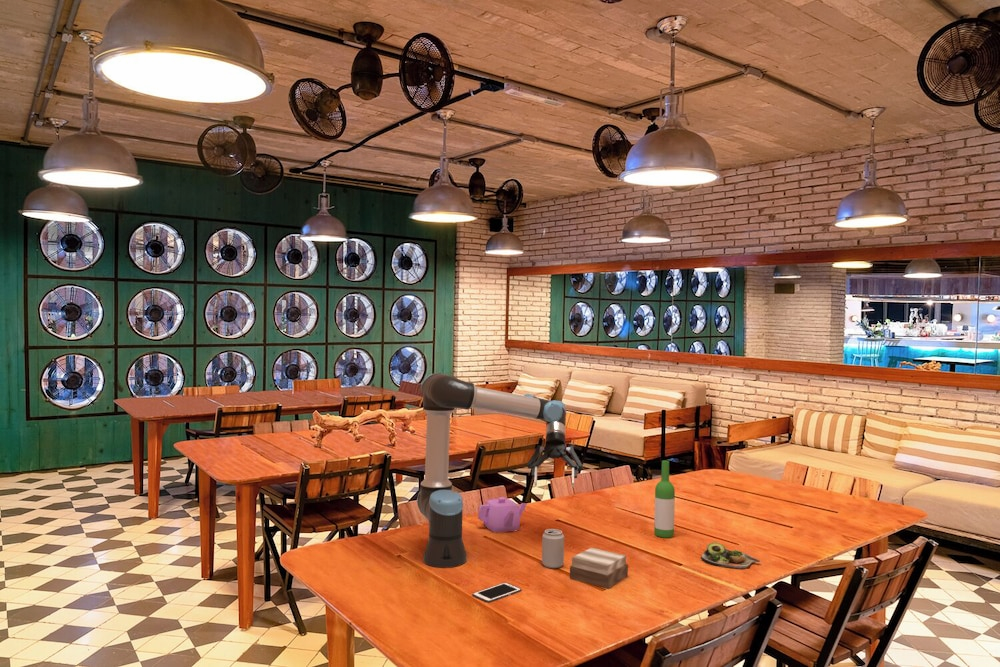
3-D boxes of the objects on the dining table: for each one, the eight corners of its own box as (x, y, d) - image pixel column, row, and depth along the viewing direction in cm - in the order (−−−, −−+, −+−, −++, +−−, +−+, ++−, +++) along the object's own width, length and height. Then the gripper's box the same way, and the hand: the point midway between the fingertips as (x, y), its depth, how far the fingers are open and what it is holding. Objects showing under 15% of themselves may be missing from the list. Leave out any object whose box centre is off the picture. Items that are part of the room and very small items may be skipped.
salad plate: (763, 559, 246) (763, 546, 246) (755, 574, 231) (755, 561, 231) (709, 550, 256) (709, 537, 256) (697, 563, 240) (698, 550, 240)
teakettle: (491, 519, 290) (491, 491, 290) (528, 525, 284) (528, 495, 284) (473, 530, 275) (474, 500, 275) (512, 536, 268) (513, 504, 268)
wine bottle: (672, 533, 275) (673, 459, 275) (675, 539, 268) (676, 463, 268) (652, 532, 276) (654, 458, 276) (655, 538, 268) (656, 462, 268)
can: (550, 560, 240) (550, 526, 240) (567, 565, 236) (568, 530, 235) (537, 565, 235) (538, 531, 234) (555, 570, 230) (556, 535, 230)
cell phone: (471, 596, 207) (471, 593, 207) (505, 584, 217) (505, 581, 217) (488, 604, 202) (488, 601, 202) (522, 591, 212) (522, 588, 212)
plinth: (607, 588, 214) (608, 566, 214) (569, 578, 223) (570, 557, 223) (627, 576, 226) (628, 555, 226) (590, 567, 234) (591, 546, 234)
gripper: (588, 443, 262) (588, 491, 247) (523, 441, 265) (520, 489, 250) (588, 431, 257) (589, 479, 242) (522, 430, 259) (519, 477, 245)
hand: (554, 484), depth 246 cm, fingers open, 13 cm apart
